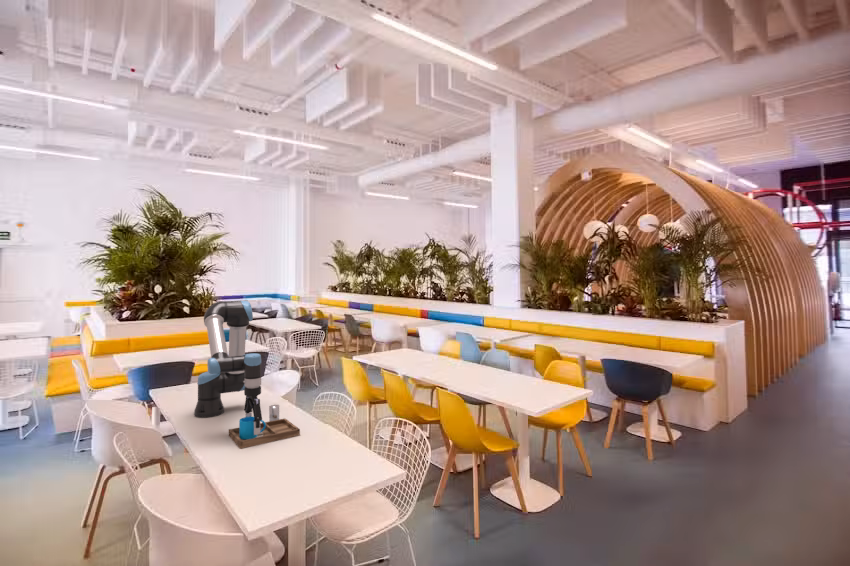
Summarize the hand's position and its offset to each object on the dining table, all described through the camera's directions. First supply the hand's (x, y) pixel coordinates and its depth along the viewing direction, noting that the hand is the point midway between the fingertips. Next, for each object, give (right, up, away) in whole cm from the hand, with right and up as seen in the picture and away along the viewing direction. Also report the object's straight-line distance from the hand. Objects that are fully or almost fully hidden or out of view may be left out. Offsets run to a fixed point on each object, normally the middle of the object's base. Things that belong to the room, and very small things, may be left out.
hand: (252, 430), depth 212 cm
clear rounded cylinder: (+3, -3, +21) cm, 22 cm away
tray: (+4, -4, +3) cm, 7 cm away
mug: (0, -3, 0) cm, 3 cm away
